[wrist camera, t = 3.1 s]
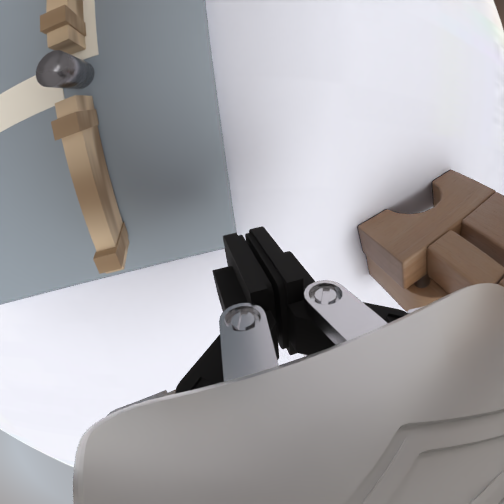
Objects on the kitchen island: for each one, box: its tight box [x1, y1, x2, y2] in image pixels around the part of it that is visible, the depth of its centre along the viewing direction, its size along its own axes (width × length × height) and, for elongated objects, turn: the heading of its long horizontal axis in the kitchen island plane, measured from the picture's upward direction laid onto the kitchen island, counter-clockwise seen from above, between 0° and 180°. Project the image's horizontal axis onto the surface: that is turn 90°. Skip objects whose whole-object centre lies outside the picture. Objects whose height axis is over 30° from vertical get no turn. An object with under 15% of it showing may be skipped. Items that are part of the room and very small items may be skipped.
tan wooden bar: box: [51, 95, 129, 274], centre depth 14 cm, size 10×1×4 cm, turn 6°
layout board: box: [0, 0, 236, 305], centre depth 12 cm, size 28×22×1 cm
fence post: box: [36, 50, 95, 89], centre depth 11 cm, size 2×2×6 cm
